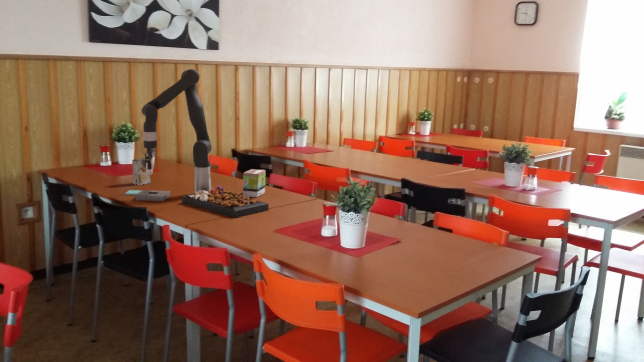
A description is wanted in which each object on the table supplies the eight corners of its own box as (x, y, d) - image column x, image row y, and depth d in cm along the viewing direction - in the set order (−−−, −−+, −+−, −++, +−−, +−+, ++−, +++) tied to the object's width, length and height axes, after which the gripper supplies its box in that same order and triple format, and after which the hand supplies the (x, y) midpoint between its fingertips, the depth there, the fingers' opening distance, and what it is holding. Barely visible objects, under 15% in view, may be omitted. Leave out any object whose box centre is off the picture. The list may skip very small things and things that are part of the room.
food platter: (182, 203, 327) (181, 186, 325) (215, 197, 345) (215, 180, 343) (234, 219, 298) (234, 199, 296) (268, 211, 317) (268, 193, 315)
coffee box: (144, 182, 379) (144, 158, 376) (150, 183, 376) (150, 159, 373) (132, 184, 372) (132, 159, 369) (138, 185, 368) (138, 160, 365)
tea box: (258, 197, 346) (258, 173, 343) (242, 196, 348) (242, 172, 345) (265, 192, 361) (265, 169, 358) (250, 191, 363) (250, 168, 360)
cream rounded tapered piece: (147, 172, 336) (149, 156, 334) (154, 174, 335) (156, 157, 334) (144, 173, 332) (146, 157, 330) (150, 175, 331) (152, 158, 329)
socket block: (170, 195, 343) (169, 190, 342) (163, 201, 329) (163, 196, 328) (143, 194, 343) (143, 190, 342) (135, 200, 329) (135, 195, 328)
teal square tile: (144, 192, 350) (144, 190, 350) (140, 195, 341) (139, 193, 341) (129, 191, 350) (129, 190, 350) (124, 194, 341) (124, 193, 341)
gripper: (147, 137, 337) (148, 166, 340) (139, 140, 323) (140, 170, 326) (160, 138, 337) (160, 166, 340) (153, 141, 323) (153, 171, 326)
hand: (150, 168), depth 333 cm, fingers closed on cream rounded tapered piece, 4 cm apart
